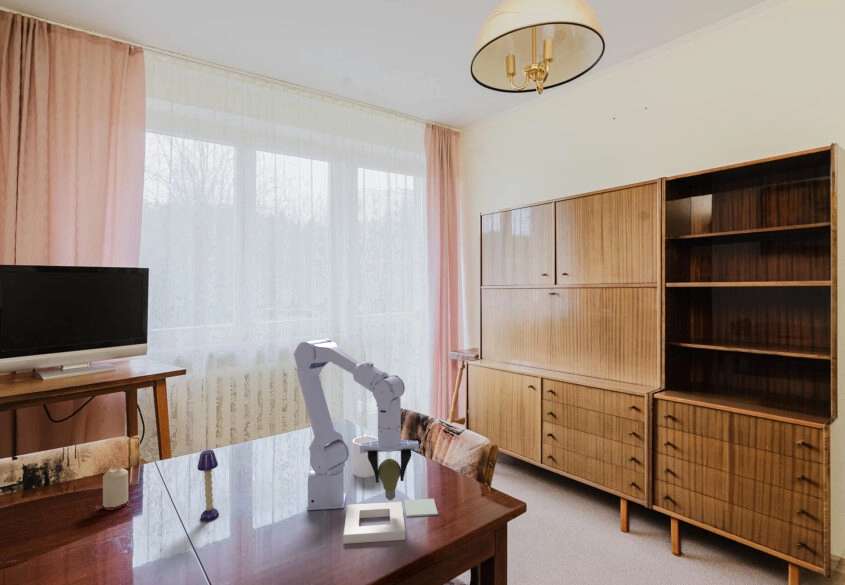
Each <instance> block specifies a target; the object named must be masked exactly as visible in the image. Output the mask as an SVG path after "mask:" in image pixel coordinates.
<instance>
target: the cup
mask: <svg viewBox="0 0 845 585" xmlns="http://www.w3.org/2000/svg"><path fill="white" fill-rule="evenodd" d="M374 441H378V436H377V437H376V436H372V435H366V434H365V433H363V435H362V436H358V437H355V438H353V439H352V474H353V476H355V477H357V478H371V477H374V476H373V475H375V474H374V471H373V468H372V466H371V463H370V462H369V459H368V452H365V453H362V454H360V443H368V442H374ZM379 460H380V452H378V469H379V466H380V461H379ZM370 476H371V477H370Z"/></svg>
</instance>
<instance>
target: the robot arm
mask: <svg viewBox="0 0 845 585" xmlns="http://www.w3.org/2000/svg"><path fill="white" fill-rule="evenodd" d="M293 356H294V360H295V364H296V367H297V368H296V372H297V379H298V382H299V386H300V389H301V393H302V396H303V400H304V404H305V407H306V410H307V415H308V419H309V422H310V426H311V430H312V433H313V439H312V441H311V442H310V444H309V447H308V450H309V453H310V455H309V464H310V466H311V468H312V469H310V470H309V471H308V476H307V510H308V511H316V510H317V511H318V510H335V509H344V508H345V505H346V504H345V503H346V499H347V498H346V496H347V493H346V492H344V490H345V489H344V486H345V484H344V483H345V482H344V479H345V478H344V475H345V474H344V473H345V472H344V467H345V466H346V462H347V461H348V460H349V457H350V451H349V447H348V444H347V443H346V442H345V440H344V438H343V434H341V433H340V432H338V431H336V430H335V428H334V425H333V421H332V418H331V414H330V411H329V408H328V403H327V400H326V396H325V392H324V389H323V385H322V383H321V382H322V381H321V379H320V375H321V372H322V370H323V369H324V367H326V365H328V363H332V364H333V365H336V366H337V367H339V368H341V369H343V370H345V371H346V372H347V373H350V374H352V377H353V381H355V383H357V384H358V385H360V386H361V387H364V388H365V389H366V390H368V391H369V392H371V393H372V396H373V398H374V399H375V402H376V407H377V438H378V441H374V442H368V443H360V454H362V453H365V452H368V459H369V462H370V463H371V466H372V468H373V471H374V474H375V476H374V478H375V483H379V482H380V477H379V474H378V452H379V453H380V452H383V453H385V452H386V453H389V452H400V468H401V473H400V477H399V479H400V482H403V481H404V478H405V475H406V474H405V473H406V470H407V466H408V464H409V462H410V460H411V458H412V451H414V452H419V447H420V446H419V445H420V443H419V441H418V440H408V439H406V440H405V439H402V436H401V433H402V431H401V430H402V428H401V426H402V425H401V423H402V422H401V416H402V415H401V414H402V412H401V409H402V408H401V407H402V406H401V405H402V404H401V403H402V402H401V397H402V396H403V395H404V394H405V389H406V387H405V383H404V381H403V379H401V377H400V376H398V375H397V374H393V375H392V374H391V375H388V374H389V373H388V372H386V371H382V370H381V369H379V368H378V367H375V366H374V365H375V364H374V362H372V361H369V362H367V361H363V362H359V361H358V360H357V359H355V358H354V357H352V355H350V354H349V353H347V352H346V351H344V350H343V349H342V348H340V347H339V346H338V344H337V343H336V342H334V341H332V340H331V339H329V338H323V339H318V340H310V341H302V342H299V343H298V345H297V346H296V349H295V351H294V353H293Z"/></svg>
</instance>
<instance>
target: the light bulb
mask: <svg viewBox="0 0 845 585" xmlns="http://www.w3.org/2000/svg"><path fill="white" fill-rule="evenodd" d="M400 473H401V464H399V462H398V461H397V460H395V459H393V458H386V459H384V460H383V461H382V462H380V463H379V469H378V474H379V480H380V481H381V483H382V485H383V488H384V491H385V499H387V500H388V501H393V500H394V499H395V498H396V489H397V485H398V481H399V479H400Z"/></svg>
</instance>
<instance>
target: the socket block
mask: <svg viewBox="0 0 845 585" xmlns="http://www.w3.org/2000/svg"><path fill="white" fill-rule="evenodd" d="M382 517H383V518H385V517H389V524H388V523H387V524H377V525H375V524H373V525H360V521H361V519H370V518H371V519H372V518H382ZM404 517H405V516H404V510H403V503H402V501H391V502H390V501H388V502H373V503H355V504H353V503H352V504H347V505H346V513H345V521H344V528H343V545H345V544H360V543H375V542H389V541H404V540H406V526H405V525H406V524H405V518H404Z"/></svg>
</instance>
